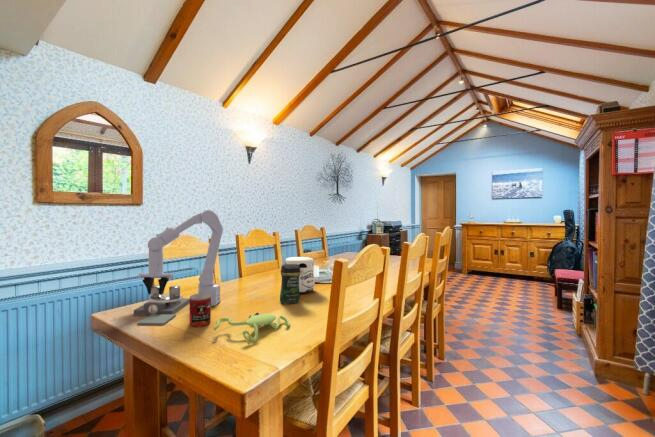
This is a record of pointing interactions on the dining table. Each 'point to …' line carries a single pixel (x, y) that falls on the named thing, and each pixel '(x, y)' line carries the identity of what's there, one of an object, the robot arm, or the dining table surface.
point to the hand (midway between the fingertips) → (156, 294)
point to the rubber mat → (157, 319)
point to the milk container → (304, 273)
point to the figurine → (255, 323)
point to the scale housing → (161, 307)
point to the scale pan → (164, 299)
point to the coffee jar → (290, 284)
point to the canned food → (200, 309)
